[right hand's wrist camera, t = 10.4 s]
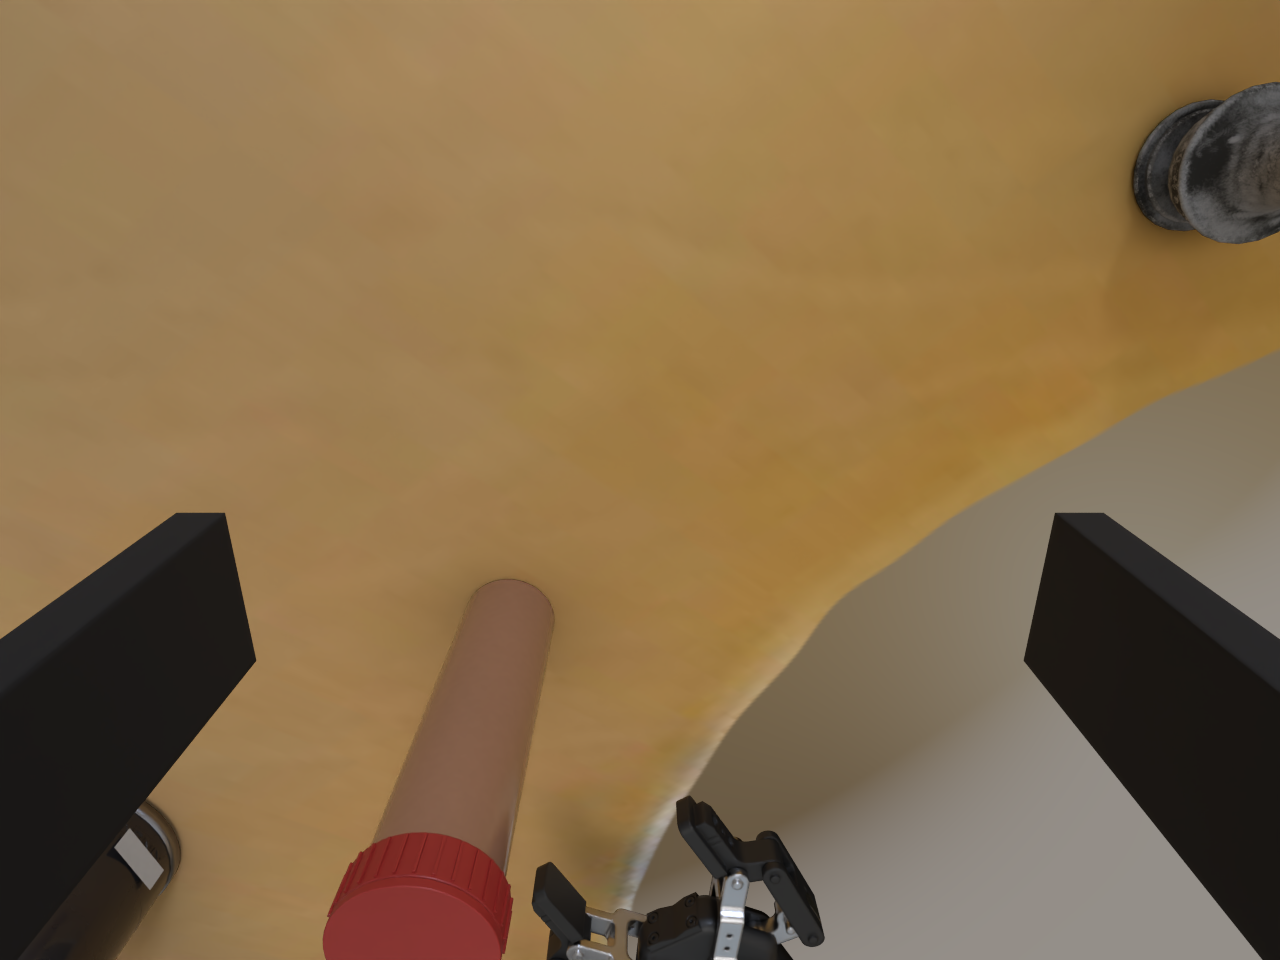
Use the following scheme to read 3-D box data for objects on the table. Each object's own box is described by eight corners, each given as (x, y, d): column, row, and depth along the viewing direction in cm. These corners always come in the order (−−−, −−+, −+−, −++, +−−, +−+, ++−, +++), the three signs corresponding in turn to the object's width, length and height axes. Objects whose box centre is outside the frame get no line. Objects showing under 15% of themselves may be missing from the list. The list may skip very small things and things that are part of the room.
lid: (502, 963, 27) (492, 1024, 25) (340, 942, 27) (316, 1002, 25) (523, 843, 25) (514, 898, 23) (348, 818, 25) (323, 872, 23)
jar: (547, 661, 43) (483, 1000, 25) (461, 648, 43) (335, 981, 25) (560, 586, 41) (501, 894, 24) (470, 572, 41) (342, 872, 23)
